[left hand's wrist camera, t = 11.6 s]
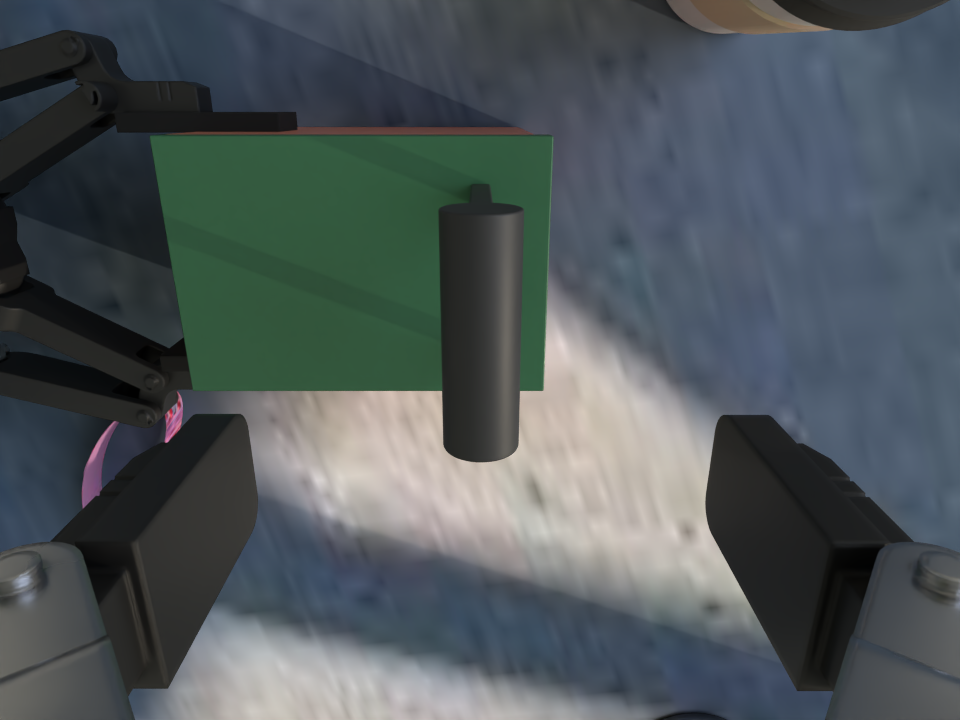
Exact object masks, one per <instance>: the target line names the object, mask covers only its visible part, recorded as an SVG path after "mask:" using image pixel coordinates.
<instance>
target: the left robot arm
mask: <svg viewBox="0 0 960 720" xmlns="http://www.w3.org/2000/svg"><path fill="white" fill-rule="evenodd" d="M257 510H258V495H257V487H256V480H255V473H254V466H253V459H252V452H251V445H250V438H249V431H248V426H247V422H246V420H245V418H244V416H243V415H241V414H195V415H193V416H192V417H191V418H190V419H189V420H188V421H187V422H186V423H185V424H184V425H183V426H182V427H181V429H180V430H179V431H178V432H177V433H176V434H175V435H174V436H173V437H172V438H171V439H170V440H169V441H168V442H161V443H159V444H158V445H156V446H154V447H152V448H150V449H149V450H147V451H145V452H143V453H141V454H140V455H138V456H136V457H134V458H133V459H132V460H131V461H130V462H129V463H128V464H127V465H126V466H125V467H124V468H123V469H122V470H121V471H120V472H119V473H118V474H117V475H116V476H115V480H111V481H110V482H109V483H108V484H107V485H106V486H105V487H104V488H103V489H102V490H101V491H100V495H99V496H95V497H94V498H93V499H92V500H91V501H90V502H89V503H88V504H87V505H86V506H85V507H84V508H83V509H82V510H81V511H80V512H79V513H78V514H77V515H76V516H75V517H74V518H73V519H72V520H71V521H70V522H69V523H68V524H67V525H66V526H65V527H64V528H63V529H62V530H61V531H60V532H59V533H58V534H57V535H56V536H55V537H54V538H53V539H52V540H51V541H50V542H41V543H33V544H28V545H23V546H19V547H16V548H12V549H9V550H6V551H4V552H1V553H0V720H135V718H134V715H133V712H132V708H131V705H130V702H129V699H128V696H129V694H130V693H131V691H132V689H168V687H169V686H170V684H171V682H172V680H173V678H174V676H175V674H176V673H177V671H178V669H179V667H180V665H181V663H182V661H183V660H184V658H185V656H186V654H187V652H188V650H189V648H190V647H191V645H192V643H193V641H194V639H195V637H196V635H197V634H198V632H199V630H200V628H201V626H202V624H203V622H204V621H205V619H206V617H207V615H208V613H209V611H210V609H211V608H212V606H213V604H214V602H215V600H216V598H217V596H218V595H219V593H220V591H221V589H222V587H223V585H224V583H225V582H226V580H227V578H228V576H229V574H230V572H231V570H232V569H233V567H234V565H235V563H236V561H237V559H238V557H239V556H240V554H241V552H242V550H243V548H244V546H245V544H246V543H247V541H248V539H249V537H250V535H251V533H252V531H253V529H254V526H255V522H256V517H257ZM706 516H707V521H708V525H709V529H710V531H711V534H712V536H713V537H714V539H715V541H716V543H717V545H718V547H719V548H720V550H721V552H722V554H723V556H724V558H725V559H726V561H727V563H728V565H729V567H730V569H731V570H732V572H733V574H734V576H735V578H736V580H737V581H738V583H739V585H740V587H741V589H742V591H743V592H744V594H745V596H746V598H747V600H748V602H749V603H750V605H751V607H752V609H753V611H754V613H755V614H756V616H757V618H758V620H759V622H760V624H761V625H762V627H763V629H764V631H765V633H766V635H767V636H768V638H769V640H770V642H771V644H772V646H773V647H774V649H775V651H776V653H777V655H778V657H779V658H780V660H781V662H782V664H783V666H784V668H785V669H786V671H787V673H788V675H789V677H790V679H791V680H792V682H793V684H794V686H795V688H796V690H797V691H833V695H832V699H831V702H830V705H829V708H828V712H827V715H826V718H825V720H960V553H959V552H956V551H954V550H951V549H948V548H944V547H941V546H937V545H932V544H927V543H919V542H914V541H913V540H912V539H911V538H910V537H909V536H908V535H907V534H906V533H905V532H904V531H903V530H902V529H901V528H900V527H899V526H898V525H897V524H896V523H895V522H894V521H893V520H892V519H891V518H890V517H889V516H888V515H887V514H886V513H885V512H884V511H883V510H882V509H881V508H880V507H879V506H878V505H877V504H876V503H875V502H874V501H872V500H871V499H870V498H869V497H865V493H864V492H863V491H862V490H861V489H860V488H859V487H858V486H857V485H856V484H855V483H854V482H853V481H850V478H849V477H848V476H847V475H846V474H845V473H844V472H843V471H842V470H841V469H840V468H839V467H838V466H837V465H836V464H835V463H834V462H833V461H832V460H831V459H830V458H828V457H826V456H824V455H823V454H821V453H819V452H817V451H815V450H814V449H812V448H810V447H808V446H806V445H804V444H797V443H796V442H795V441H794V440H793V439H792V438H791V437H790V436H789V435H788V434H787V433H786V432H785V430H784V429H783V428H782V427H781V426H780V425H779V424H778V423H777V422H776V421H775V420H774V419H773V418H772V417H771V416H769V415H723V416H721V417H720V418H719V420H718V422H717V425H716V429H715V435H714V442H713V449H712V456H711V463H710V470H709V477H708V484H707V491H706ZM663 720H726V719H724V718H721V717H718V716H714V715H709V714H699V713H692V714H681V715H676V716H672V717H669V718H666V719H663Z"/></svg>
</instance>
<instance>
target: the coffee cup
mask: <svg viewBox="0 0 960 720" xmlns="http://www.w3.org/2000/svg"><path fill="white" fill-rule="evenodd" d="M666 1H667V2H668V4H669V5H670V7H671V8H672V10H673V11H674V12H675V13H676V14H677V15H678V16H679V17H680V18H681V19H682V20H683V21H685V22H686V23H688V24H689V25H691V26H693V27H695V28H697V29H699V30H702V31H705V32H709V33H717V34H727V33H745V34H769V33H788V32H808V31H826V30H833V29H835V30H844V31H861V30H871V29H878V28H882V27H887V26H891V25H894V24H897V23H900V22H903V21H906V20H908V19H911V18H913V17H915V16H918V15H920V14H922V13H924V12H926V11H928V10H930V9H933V8H935V7H937V6H940V5H942V4H944V3H946V2H947V1H949V0H666Z"/></svg>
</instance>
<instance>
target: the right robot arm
mask: <svg viewBox="0 0 960 720" xmlns="http://www.w3.org/2000/svg"><path fill="white" fill-rule="evenodd" d="M117 55H118V54H117V50H116V47H115V46H114V44H113V43H112V42H111V41H110V40H109V39H107V38H104V37H101V36H96V35H91V34H86V33H81V32H75V31H70V30H62V31H59V32H56V33H53V34H50V35H46V36H43V37H40V38H37V39H34V40H31V41H28V42H24V43H21V44H18V45H15V46H12V47H9V48H5V49H2V50H0V101H3V100H6V99H9V98H13V97H16V96H19V95H22V94H25V93H29V92H32V91H35V90H38V89H42V88H45V87H48V86H51V85H55V84H58V83H61V82H64V81H67V80H71V79H74V78H77V80H78V81H76V82H75V83H76V85H81V86H80V87H79V88H77V89H76V90H74V91H73V92H71V93H70V94H69V95H67V96H66V97H64V98H63V99H61V100H60V101H58V102H57V103H55V104H54V105H52V106H51V107H49V108H48V109H46V110H45V111H43V112H42V113H40V114H39V115H37V116H36V117H34V118H33V119H32V120H30V121H29V122H27V123H26V124H24V125H23V126H21V127H20V128H18V129H17V130H15V131H14V132H12V133H11V134H9V135H8V136H6V137H5V138H3V139H2V140H0V331H13V332H17V333H19V334H22V335H24V336H26V337H28V338H30V339H33V340H35V341H37V342H39V343H41V344H44V345H46V346H48V347H50V348H52V349H54V350H57V351H59V352H61V353H63V354H65V355H68V356H70V357H72V358H74V359H76V360H78V361H81V362H83V363H85V364H87V365H89V366H92V367H88V366H84V365H80V364H76V363H72V362H67V361H63V360H59V359H55V358H51V357H46V356H42V355H38V354H33V353H26V352H9V347H8V346H7V345H6V344H3V343H0V395H3V396H7V397H12V398H16V399H20V400H25V401H29V402H33V403H38V404H42V405H46V406H51V407H55V408H59V409H64V410H68V411H72V412H77V413H81V414H85V415H90V416H94V417H98V418H103V419H107V420H111V421H116V422H120V423H124V424H129V425H133V426H138V427H142V428H149V427H152V426H153V425H155V424H156V423H157V422H158V421H159V420H160V419H161V418H162V417H163V416H164V415H165V414H166V413H167V412H168V411H169V410H170V409H171V408H172V407H173V406H174V405H175V404H176V403H177V402H178V399H179V397H178V393H177V390H178V389H193V388H192V382H191V377H190V371H189V365H188V359H187V353H186V347H185V341H184V338H182V339H181V340H180V341H178V342H177V343H176V344H175V345H173V346H172V347H171V348H167V347H165V346H163V345H161V344H159V343H156V342H154V341H152V340H150V339H148V338H146V337H144V336H142V335H140V334H137V333H135V332H133V331H131V330H129V329H127V328H125V327H123V326H120V325H118V324H116V323H114V322H112V321H110V320H108V319H106V318H104V317H101V316H99V315H97V314H95V313H93V312H91V311H89V310H87V309H85V308H82V307H80V306H78V305H76V304H74V303H72V302H70V301H68V300H65V299H63V298H61V297H59V296H57V295H56V294H55V292H54V289H53V288H51V287H50V286H48V285H46V284H44V283H42V282H39V281H37V280H35V279H33V278H31V277H29V276H27V274H30V273H29V269H28V265H27V261H26V257H25V256H24V254H23V252H22V250H21V248H20V246H19V244H18V242H17V221H16V217H15V213H14V209H13V206H6V204H5V203H4V201H5V200H6V199H8V198H9V197H11V196H12V195H14V194H15V193H17V192H19V191H20V190H22V189H23V188H25V187H26V186H27V185H28V184H29V183H28V182H29V181H30V180H32V179H33V178H35V177H36V176H38V175H39V174H41V173H42V172H44V171H45V170H47V169H48V168H50V167H51V166H53V165H54V164H56V163H58V162H59V161H61V160H62V159H64V158H65V157H67V156H68V155H70V154H71V153H73V152H74V151H76V150H77V149H79V148H80V147H82V146H84V145H85V144H87V143H88V142H90V141H91V140H93V139H94V138H96V137H97V136H99V135H100V134H102V133H103V132H105V131H106V130H108V129H110V128H111V127H113V126H114V125H116V127H117V132H283V131H292V130H298V129H297V118H296V112H213V111H212V103H211V96H210V89H209V87H206V86H204V85H201V84H199V83H195V82H184V81H133V80H131V79H129V78H128V77H127V76H126V75H125V74H124V73H123V71H122V70H121V68H120V66H119V64H118V62H117ZM93 367H94V368H93Z"/></svg>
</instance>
